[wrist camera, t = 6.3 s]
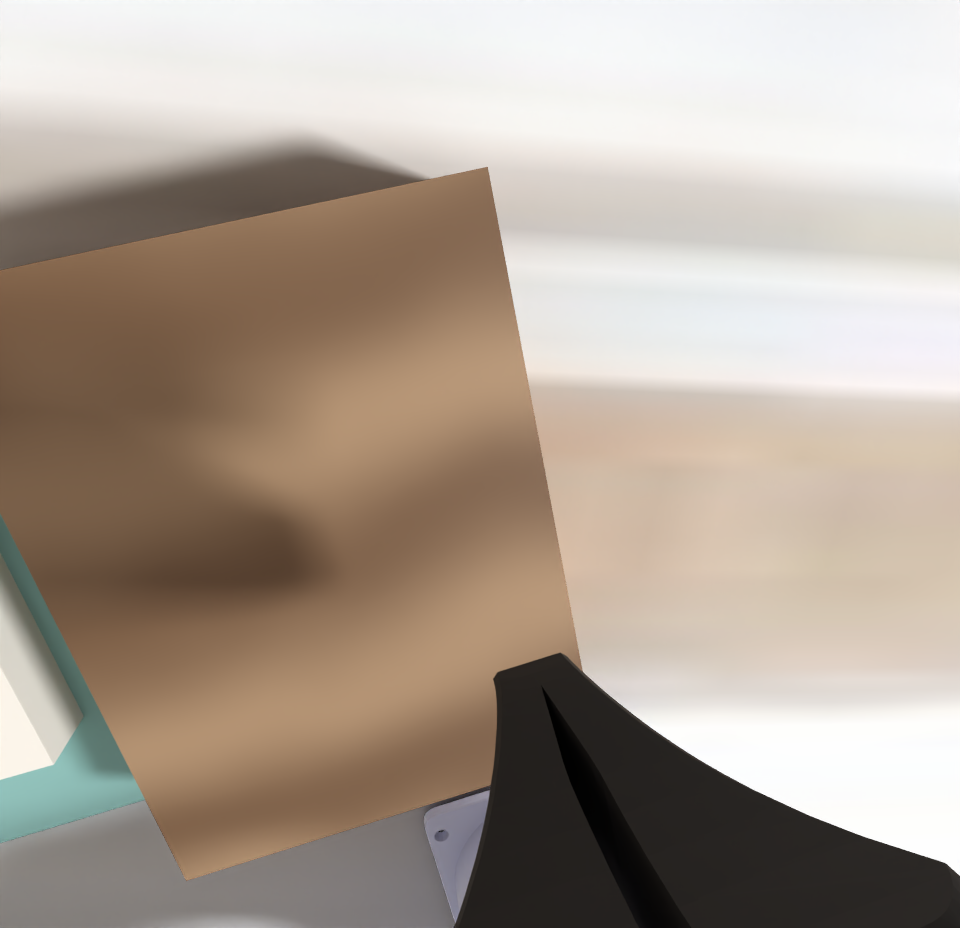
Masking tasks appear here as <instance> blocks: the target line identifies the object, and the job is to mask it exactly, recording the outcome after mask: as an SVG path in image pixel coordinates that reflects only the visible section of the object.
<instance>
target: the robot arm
mask: <svg viewBox="0 0 960 928" xmlns="http://www.w3.org/2000/svg"><path fill="white" fill-rule="evenodd" d="M493 681H494V685H495V690H496V700H497V730H496V744H495V757H494V766H493V773H492V780H491V786H490V790H488V791H485V792H481V793H478V794H475V795H472V796H469V797H466V798H462V799H459V800H456V801H453V802H450V803H447V804H443V805H440V806H437V807H434V808H432V809H430V810H429V811H428V812H427V813H426V814H425V816H424V826H425V831H426V834H427V837H428V840H429V843H430V847H431V850H432V853H433V856H434V859H435V862H436V865H437V868H438V872H439V875H440V878H441V881H442V884H443V887H444V890H445V893H446V897H447V900H448V903H449V906H450V909H451V912H452V915H453V918H454V922H455V926H454V928H960V876H959V875H958V874H957V873H956V872H955V871H953V870H952V869H951V868H950V867H949V866H948V865H947V864H945V863H943V862H940V861H937V860H934V859H931V858H928V857H925V856H921V855H918V854H915V853H912V852H909V851H906V850H903V849H900V848H897V847H894V846H890V845H887V844H884V843H881V842H878V841H875V840H872V839H869V838H866V837H863V836H860V835H857V834H855V833H852V832H849V831H847V830H844V829H842V828H839V827H837V826H834V825H831V824H829V823H826V822H824V821H821V820H819V819H816V818H814V817H811V816H809V815H806V814H804V813H802V812H800V811H798V810H796V809H793V808H791V807H789V806H787V805H785V804H783V803H780V802H778V801H776V800H774V799H772V798H770V797H767V796H765V795H763V794H761V793H759V792H757V791H754V790H752V789H750V788H749V787H747V786H745V785H743V784H741V783H739V782H737V781H735V780H734V779H732V778H730V777H728V776H726V775H724V774H723V773H721V772H719V771H717V770H716V769H714V768H712V767H710V766H709V765H707V764H705V763H704V762H702V761H700V760H698V759H697V758H695V757H694V756H692V755H690V754H689V753H687V752H686V751H684V750H683V749H681V748H680V747H678V746H676V745H675V744H673V743H672V742H671V741H669V740H668V739H666V738H665V737H663V736H662V735H660V734H659V733H657V732H656V731H655V730H653V729H652V728H650V727H649V726H648V725H646V724H645V723H644V722H642V721H641V720H640V719H638V718H637V717H636V716H634V715H633V714H632V713H631V712H629V711H628V710H627V709H625V708H624V707H623V706H622V705H620V704H619V703H618V702H617V701H615V700H614V699H613V698H612V697H610V696H609V695H608V694H607V693H606V692H604V691H603V690H602V689H601V688H600V687H599V686H598V685H596V684H595V683H594V682H593V681H592V680H591V679H590V678H589V677H588V676H586V675H585V674H584V673H583V672H582V671H581V670H580V669H579V668H578V667H577V666H576V665H575V664H574V663H573V662H572V661H571V660H570V659H569V658H568V657H567V656H566V655H564V654H562V653H557V654H554V655H550V656H547V657H544V658H541V659H538V660H534V661H531V662H528V663H525V664H522V665H518V666H515V667H512V668H509V669H506V670H502V671H499V672H497V674H496V675H495V677H494V678H493ZM440 830H445V831H443V832H438V831H440Z"/></svg>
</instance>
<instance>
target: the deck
mask: <svg viewBox="0 0 960 928" xmlns="http://www.w3.org/2000/svg"><path fill="white" fill-rule="evenodd" d="M0 514H1V516H2V518H3V520H4V522H5V524H6V526H7V528H8V530H9V532H10V534H11V536H12V538H13V540H14V542H15V544H16V546H17V547H18V549H19V551H20V553H21V555H22V557H23V559H24V561H25V563H26V565H27V567H28V569H29V571H30V573H31V575H32V577H33V579H34V581H35V583H36V585H37V587H38V589H39V591H40V593H41V595H42V597H43V599H44V601H45V603H46V605H47V607H48V609H49V611H50V613H51V615H52V617H53V619H54V621H55V623H56V625H57V627H58V628H59V630H60V632H61V634H62V636H63V638H64V640H65V642H66V644H67V646H68V648H69V650H70V652H71V654H72V656H73V658H74V660H75V662H76V664H77V666H78V668H79V670H80V672H81V674H82V676H83V678H84V680H85V682H86V684H87V686H88V688H89V690H90V692H91V694H92V696H93V698H94V700H95V702H96V704H97V706H98V708H99V709H100V711H101V713H102V715H103V717H104V719H105V721H106V723H107V725H108V727H109V729H110V731H111V733H112V735H113V737H114V739H115V741H116V743H117V745H118V747H119V749H120V751H121V753H122V755H123V757H124V759H125V761H126V763H127V765H128V767H129V769H130V771H131V773H132V775H133V777H134V779H135V781H136V783H137V785H138V787H139V789H140V790H141V792H142V794H143V796H144V798H145V800H146V802H147V804H148V806H149V808H150V810H151V812H152V814H153V816H154V818H155V820H156V822H157V824H158V826H159V828H160V830H161V832H162V834H163V836H164V838H165V840H166V842H167V844H168V846H169V848H170V850H171V852H172V854H173V856H174V858H175V860H176V862H177V864H178V866H179V868H180V870H181V871H182V873H183V875H184V877H185V879H186V881H188V880H191V879H194V878H197V877H200V876H204V875H207V874H210V873H213V872H216V871H219V870H223V869H226V868H229V867H232V866H235V865H238V864H242V863H245V862H248V861H251V860H254V859H258V858H261V857H264V856H267V855H270V854H273V853H277V852H280V851H283V850H286V849H289V848H293V847H296V846H299V845H302V844H305V843H308V842H312V841H315V840H318V839H321V838H324V837H327V836H331V835H334V834H337V833H340V832H343V831H347V830H350V829H353V828H356V827H359V826H362V825H366V824H369V823H372V822H375V821H378V820H381V819H385V818H388V817H391V816H394V815H397V814H401V813H404V812H407V811H410V810H413V809H416V808H420V807H423V806H426V805H429V804H432V803H436V802H439V801H442V800H445V799H448V798H451V797H455V796H458V795H461V794H464V793H467V792H470V791H474V790H477V789H480V788H483V787H486V786H490V785H491V780H492V773H493V766H494V757H495V744H496V730H497V700H496V690H495V685H494V681H493V678H494V677H495V675H496V674H497V672H499V671H502V670H506V669H509V668H512V667H515V666H518V665H522V664H525V663H528V662H531V661H534V660H538V659H541V658H544V657H547V656H550V655H554V654H557V653H562V654H564V655H566V656H567V657H568V658H569V659H570V660H571V661H572V662H573V663H574V664H575V665H576V666H577V667H578V668H579V669H580V670H581V671H582V666H581V660H580V655H579V650H578V645H577V639H576V634H575V629H574V623H573V618H572V613H571V607H570V602H569V597H568V591H567V586H566V581H565V575H564V570H563V565H562V560H561V554H560V549H559V544H558V538H557V533H556V528H555V522H554V517H553V512H552V506H551V501H550V496H549V491H548V485H547V480H546V475H545V469H544V464H543V459H542V453H541V448H540V443H539V437H538V432H537V427H536V421H535V416H534V411H533V406H532V400H531V395H530V390H529V384H528V379H527V374H526V368H525V363H524V358H523V352H522V347H521V342H520V336H519V331H518V326H517V321H516V315H515V310H514V305H513V299H512V294H511V289H510V283H509V278H508V273H507V267H506V262H505V257H504V252H503V246H502V241H501V236H500V230H499V225H498V220H497V214H496V209H495V204H494V198H493V193H492V188H491V182H490V177H489V172H488V167H485V168H480V169H476V170H471V171H466V172H461V173H457V174H452V175H447V176H443V177H438V178H433V179H428V180H424V181H419V182H414V183H410V184H405V185H400V186H395V187H391V188H386V189H381V190H376V191H372V192H367V193H362V194H358V195H353V196H348V197H343V198H339V199H334V200H329V201H325V202H320V203H315V204H310V205H306V206H301V207H296V208H291V209H287V210H282V211H277V212H273V213H268V214H263V215H258V216H254V217H249V218H244V219H240V220H235V221H230V222H225V223H221V224H216V225H211V226H206V227H202V228H197V229H192V230H188V231H183V232H178V233H173V234H169V235H164V236H159V237H154V238H150V239H145V240H140V241H136V242H131V243H126V244H121V245H117V246H112V247H107V248H103V249H98V250H93V251H88V252H84V253H79V254H74V255H69V256H65V257H60V258H55V259H51V260H46V261H41V262H36V263H32V264H27V265H22V266H18V267H13V268H8V269H3V270H0ZM582 672H583V671H582Z"/></svg>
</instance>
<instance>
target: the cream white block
mask: <svg viewBox="0 0 960 928" xmlns="http://www.w3.org/2000/svg"><path fill="white" fill-rule="evenodd" d="M83 717H84V716H83V714H82V712H81V710H80V708H79V706H78V704H77V702H76V700H75V698H74V696H73V694H72V692H71V690H70V688H69V686H68V684H67V683H66V681H65V679H64V677H63V675H62V673H61V671H60V669H59V667H58V665H57V663H56V661H55V659H54V657H53V655H52V653H51V651H50V649H49V647H48V645H47V643H46V641H45V639H44V637H43V636H42V634H41V632H40V630H39V628H38V626H37V624H36V622H35V620H34V618H33V616H32V614H31V612H30V610H29V608H28V606H27V604H26V602H25V600H24V598H23V596H22V594H21V592H20V590H19V589H18V587H17V585H16V583H15V581H14V579H13V577H12V575H11V573H10V571H9V569H8V567H7V565H6V563H5V561H4V559H3V557H2V555H1V553H0V780H2V779H5V778H9V777H12V776H16V775H19V774H23V773H26V772H30V771H33V770H37V769H40V768H44V767H47V766H51V765H54V764H55V762H56V760H57V759H58V757H59V756H60V754H61V752H62V751H63V749H64V747H65V746H66V744H67V743H68V741H69V739H70V738H71V736H72V735H73V733H74V731H75V730H76V728H77V727H78V725H79V723H80V722H81V720H82V719H83Z"/></svg>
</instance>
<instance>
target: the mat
mask: <svg viewBox="0 0 960 928" xmlns="http://www.w3.org/2000/svg"><path fill="white" fill-rule="evenodd" d="M0 553H1V555H2V557H3V559H4V561H5V563H6V565H7V567H8V569H9V571H10V573H11V575H12V577H13V579H14V581H15V583H16V585H17V587H18V589H19V590H20V592H21V594H22V596H23V598H24V600H25V602H26V604H27V606H28V608H29V610H30V612H31V614H32V616H33V618H34V620H35V622H36V624H37V626H38V628H39V630H40V632H41V634H42V636H43V637H44V639H45V641H46V643H47V645H48V647H49V649H50V651H51V653H52V655H53V657H54V659H55V661H56V663H57V665H58V667H59V669H60V671H61V673H62V675H63V677H64V679H65V681H66V683H67V684H68V686H69V688H70V690H71V692H72V694H73V696H74V698H75V700H76V702H77V704H78V706H79V708H80V710H81V712H82V714H83V716H84V717H83V719H82V720H81V722H80V723H79V725H78V727H77V728H76V730H75V731H74V733H73V735H72V736H71V738H70V739H69V741H68V743H67V744H66V746H65V747H64V749H63V751H62V752H61V754H60V756H59V757H58V759H57V760H56V762H55V764H54V765H51V766H47V767H44V768H40V769H37V770H33V771H30V772H26V773H23V774H19V775H16V776H12V777H9V778H5V779H2V780H0V843H3V842H6V841H9V840H13V839H16V838H19V837H23V836H26V835H29V834H33V833H36V832H39V831H43V830H46V829H49V828H53V827H56V826H59V825H63V824H66V823H69V822H73V821H76V820H79V819H83V818H86V817H89V816H93V815H96V814H99V813H103V812H106V811H109V810H113V809H116V808H119V807H123V806H126V805H129V804H133V803H136V802H139V801H143V800H145V798H144V796H143V794H142V792H141V790H140V789H139V787H138V785H137V783H136V781H135V779H134V777H133V775H132V773H131V771H130V769H129V767H128V765H127V763H126V761H125V759H124V757H123V755H122V753H121V751H120V749H119V747H118V745H117V743H116V741H115V739H114V737H113V735H112V733H111V731H110V729H109V727H108V725H107V723H106V721H105V719H104V717H103V715H102V713H101V711H100V709H99V708H98V706H97V704H96V702H95V700H94V698H93V696H92V694H91V692H90V690H89V688H88V686H87V684H86V682H85V680H84V678H83V676H82V674H81V672H80V670H79V668H78V666H77V664H76V662H75V660H74V658H73V656H72V654H71V652H70V650H69V648H68V646H67V644H66V642H65V640H64V638H63V636H62V634H61V632H60V630H59V628H58V627H57V625H56V623H55V621H54V619H53V617H52V615H51V613H50V611H49V609H48V607H47V605H46V603H45V601H44V599H43V597H42V595H41V593H40V591H39V589H38V587H37V585H36V583H35V581H34V579H33V577H32V575H31V573H30V571H29V569H28V567H27V565H26V563H25V561H24V559H23V557H22V555H21V553H20V551H19V549H18V547H17V546H16V544H15V542H14V540H13V538H12V536H11V534H10V532H9V530H8V528H7V526H6V524H5V522H4V520H3V518H2V516H1V514H0Z"/></svg>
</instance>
